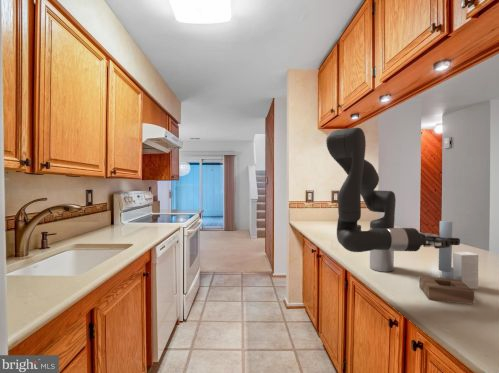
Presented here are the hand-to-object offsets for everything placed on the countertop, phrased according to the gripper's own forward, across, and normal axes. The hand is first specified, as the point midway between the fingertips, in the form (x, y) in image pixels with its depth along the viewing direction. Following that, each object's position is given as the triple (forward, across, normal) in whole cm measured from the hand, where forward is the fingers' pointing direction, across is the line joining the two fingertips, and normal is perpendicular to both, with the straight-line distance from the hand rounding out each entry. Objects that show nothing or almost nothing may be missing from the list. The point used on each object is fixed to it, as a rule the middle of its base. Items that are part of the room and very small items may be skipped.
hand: (454, 240), depth 89 cm
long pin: (-3, 0, +10) cm, 10 cm away
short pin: (+3, +7, +18) cm, 20 cm away
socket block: (-2, 0, +18) cm, 18 cm away
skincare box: (+9, +8, +18) cm, 22 cm away
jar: (-11, +64, +18) cm, 67 cm away
